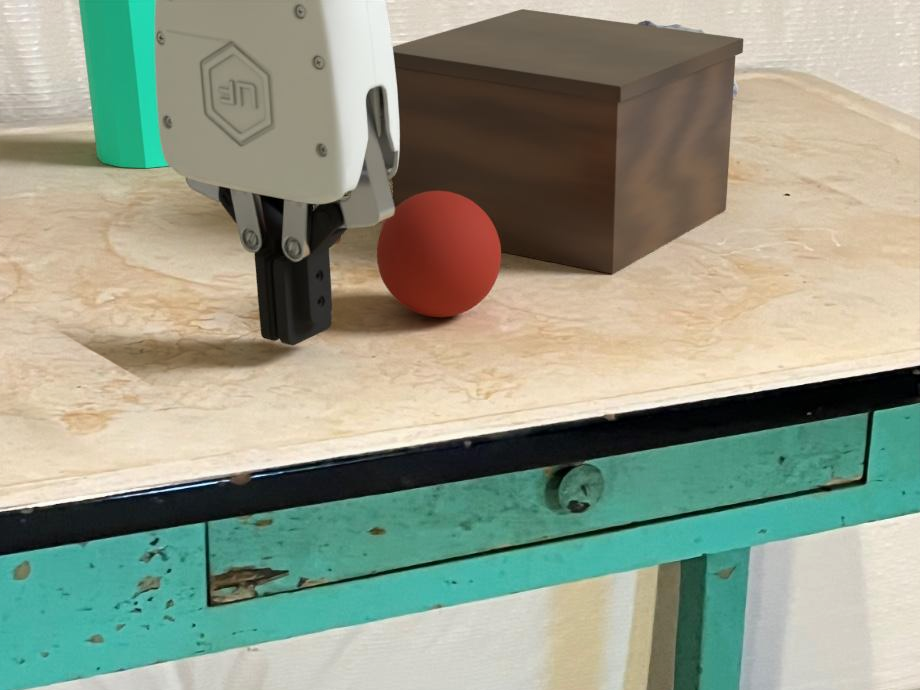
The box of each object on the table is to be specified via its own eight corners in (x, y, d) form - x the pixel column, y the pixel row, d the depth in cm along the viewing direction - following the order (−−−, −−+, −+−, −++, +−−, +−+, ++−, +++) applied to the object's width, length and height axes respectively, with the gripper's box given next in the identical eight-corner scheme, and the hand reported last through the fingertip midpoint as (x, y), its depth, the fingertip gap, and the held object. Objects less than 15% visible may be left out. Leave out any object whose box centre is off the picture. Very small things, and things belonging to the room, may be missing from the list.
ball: (505, 318, 85) (421, 358, 82) (424, 243, 87) (338, 279, 83) (541, 228, 81) (454, 266, 77) (456, 151, 82) (367, 184, 79)
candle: (79, 153, 107) (55, -48, 101) (164, 138, 111) (145, -56, 105) (127, 173, 104) (104, -34, 98) (213, 157, 107) (195, -43, 101)
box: (614, 277, 89) (620, 86, 84) (385, 230, 95) (379, 50, 90) (732, 209, 100) (744, 38, 95) (521, 171, 106) (521, 8, 101)
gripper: (64, -101, 69) (117, 327, 78) (362, -67, 63) (382, 394, 72) (188, -118, 75) (224, 282, 84) (473, -89, 69) (478, 340, 78)
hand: (297, 332), depth 78 cm, fingers closed
